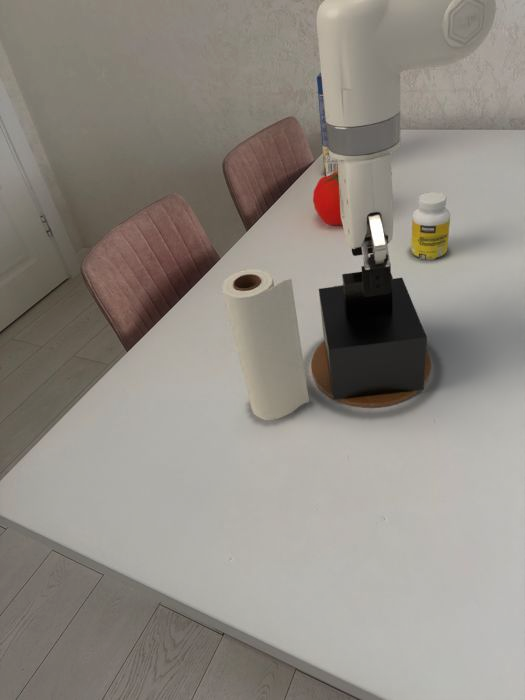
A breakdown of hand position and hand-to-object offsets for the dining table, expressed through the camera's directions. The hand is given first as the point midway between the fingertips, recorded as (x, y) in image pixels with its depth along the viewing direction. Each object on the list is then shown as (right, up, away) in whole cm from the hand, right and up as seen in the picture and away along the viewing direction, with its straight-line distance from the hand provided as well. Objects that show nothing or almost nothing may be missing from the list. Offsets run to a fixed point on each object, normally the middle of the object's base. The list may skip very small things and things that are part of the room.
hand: (370, 272), depth 63 cm
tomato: (+4, +19, +49) cm, 53 cm away
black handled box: (+2, -12, +10) cm, 16 cm away
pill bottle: (+18, +8, +32) cm, 38 cm away
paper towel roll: (-12, -19, +7) cm, 23 cm away
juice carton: (+8, +40, +73) cm, 84 cm away
